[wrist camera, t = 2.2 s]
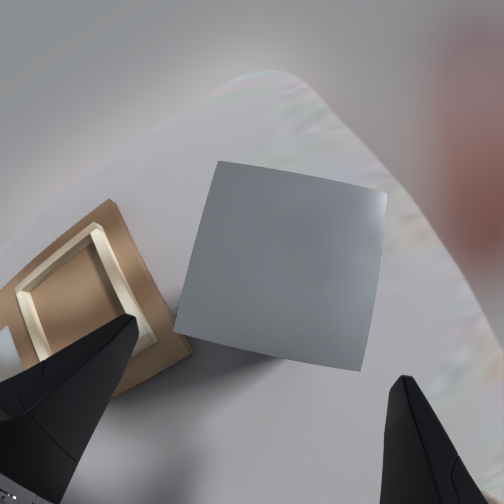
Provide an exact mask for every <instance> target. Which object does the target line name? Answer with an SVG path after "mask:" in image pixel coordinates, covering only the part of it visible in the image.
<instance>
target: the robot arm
mask: <svg viewBox="0 0 504 504" xmlns="http://www.w3.org/2000/svg"><path fill="white" fill-rule="evenodd" d="M138 337H139V329H138V324H137V319H136V317H135V316H134V315H131V314H128V313H124V314H121V315H120V316H118V317H116V318H115V319H113V320H111V321H109V322H108V323H106V324H104V325H102V326H101V327H99V328H97V329H96V330H94V331H92V332H90V333H89V334H87V335H85V336H84V337H82V338H80V339H78V340H77V341H75V342H73V343H72V344H70V345H68V346H66V347H65V348H63V349H61V350H60V351H58V352H56V353H54V354H53V355H51V356H49V357H48V358H46V359H45V360H42V361H41V362H39V363H37V364H36V365H34V366H32V367H30V368H28V369H27V370H25V371H23V372H21V373H19V374H16V375H14V376H12V377H10V378H8V379H6V380H3V381H1V382H0V504H34V500H35V498H36V496H37V495H38V496H40V497H41V498H43V499H45V500H47V501H49V502H51V503H53V504H60V502H61V500H62V498H63V495H64V493H65V491H66V489H67V487H68V484H69V482H70V480H71V478H72V476H73V474H74V472H75V469H76V467H77V465H78V463H79V461H80V459H81V457H82V454H83V452H84V450H85V448H86V446H87V444H88V442H89V440H90V438H91V436H92V434H93V432H94V430H95V428H96V426H97V424H98V422H99V420H100V418H101V416H102V414H103V412H104V411H105V409H106V407H107V405H108V403H109V401H110V399H111V397H112V395H113V393H114V391H115V389H116V388H117V386H118V384H119V382H120V380H121V378H122V376H123V374H124V372H125V370H126V367H127V365H128V362H129V360H130V357H131V355H132V352H133V350H134V347H135V345H136V342H137V340H138ZM380 504H489V503H488V502H487V500H486V499H485V497H484V496H483V494H482V493H481V491H480V490H479V488H478V487H477V485H476V484H475V482H474V481H473V479H472V477H471V476H470V474H469V473H468V471H467V469H466V467H465V465H464V464H463V462H462V460H461V458H460V456H459V455H458V453H457V451H456V449H455V447H454V446H453V444H452V442H451V440H450V438H449V437H448V435H447V433H446V431H445V430H444V428H443V426H442V424H441V423H440V421H439V419H438V418H437V416H436V414H435V412H434V411H433V409H432V407H431V406H430V404H429V402H428V401H427V399H426V397H425V396H424V394H423V392H422V391H421V389H420V388H419V386H418V384H417V383H416V381H415V379H414V378H413V377H412V376H407V375H401V376H400V377H399V378H398V379H397V381H396V382H395V383H394V385H393V386H392V388H391V389H390V392H389V399H388V408H387V416H386V424H385V432H384V453H383V470H382V484H381V495H380Z"/></svg>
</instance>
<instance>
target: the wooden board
mask: <svg viewBox="0 0 504 504" xmlns="http://www.w3.org/2000/svg"><path fill="white" fill-rule="evenodd" d="M124 313H128V314H131V315H134V316H135V317H136V319H137V324H138V329H139V337H138V340H137V342H136V345H135V347H134V350H133V352H132V355H131V357H130V360H129V362H128V365H127V367H126V370H125V372H124V374H123V376H122V378H121V380H120V382H119V384H118V386H117V388H116V389H115V391H114V393H113V395H112V397H111V399H112V398H114V397H116V396H118V395H120V394H121V393H123V392H125V391H127V390H129V389H131V388H132V387H134V386H136V385H138V384H140V383H141V382H143V381H145V380H147V379H149V378H150V377H152V376H154V375H156V374H157V373H159V372H161V371H163V370H164V369H166V368H168V367H170V366H171V365H173V364H175V363H177V362H178V361H180V360H182V359H183V358H185V357H187V356H189V355H190V354H192V353H194V351H193V349H192V347H191V346H190V344H189V342H188V341H187V339H186V337H185V336H184V335H183V334H180V333H176V332H173V329H174V325H175V318H174V317H173V315H172V313H171V311H170V310H169V308H168V306H167V304H166V302H165V301H164V299H163V297H162V295H161V293H160V291H159V290H158V288H157V286H156V284H155V282H154V280H153V278H152V276H151V275H150V273H149V271H148V269H147V267H146V265H145V263H144V261H143V259H142V257H141V255H140V253H139V251H138V249H137V247H136V245H135V243H134V241H133V239H132V237H131V235H130V233H129V230H128V228H127V226H126V224H125V222H124V220H123V218H122V216H121V213H120V211H119V209H118V207H117V205H116V204H115V203H114V202H113V201H112V200H111V199H108V200H106V201H105V202H104V203H102V204H101V205H100V206H98V207H97V208H96V209H94V210H93V211H92V212H90V213H89V214H88V215H86V216H85V217H84V218H83V219H81V220H80V221H79V222H77V223H76V224H75V225H74V226H72V227H71V228H70V229H69V230H67V231H66V232H65V233H64V234H63V235H61V236H60V237H59V238H58V239H56V240H55V241H54V242H53V243H52V244H51V245H49V246H48V247H47V248H46V249H45V250H44V251H42V252H41V253H40V254H39V255H38V256H37V257H35V258H34V259H33V260H32V261H31V262H30V263H29V264H28V265H27V266H25V267H24V268H23V269H22V270H21V271H20V272H19V273H18V274H17V275H16V276H15V277H14V278H13V279H11V280H10V281H9V282H8V283H7V284H6V285H5V286H4V287H3V288H2V289H1V290H0V382H1V381H3V380H6V379H8V378H10V377H12V376H14V375H16V374H19V373H21V372H23V371H25V370H27V369H28V368H30V367H32V366H34V365H36V364H37V363H39V362H41V361H42V360H45V359H46V358H48V357H49V356H51V355H53V354H54V353H56V352H58V351H60V350H61V349H63V348H65V347H66V346H68V345H70V344H72V343H73V342H75V341H77V340H78V339H80V338H82V337H84V336H85V335H87V334H89V333H90V332H92V331H94V330H96V329H97V328H99V327H101V326H102V325H104V324H106V323H108V322H109V321H111V320H113V319H115V318H116V317H118V316H120V315H121V314H124Z"/></svg>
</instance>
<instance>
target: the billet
mask: <svg viewBox="0 0 504 504" xmlns="http://www.w3.org/2000/svg"><path fill="white" fill-rule="evenodd" d="M386 200H387V193H386V192H382V191H378V190H374V189H369V188H365V187H361V186H356V185H352V184H347V183H343V182H338V181H333V180H329V179H324V178H319V177H314V176H309V175H303V174H298V173H293V172H287V171H281V170H276V169H270V168H264V167H258V166H251V165H245V164H238V163H231V162H224V161H218V163H217V166H216V170H215V173H214V176H213V180H212V183H211V186H210V190H209V193H208V197H207V200H206V204H205V207H204V211H203V214H202V218H201V222H200V225H199V229H198V233H197V236H196V240H195V244H194V247H193V251H192V255H191V259H190V263H189V267H188V271H187V275H186V279H185V283H184V287H183V291H182V295H181V299H180V303H179V308H178V312H177V316H176V320H175V325H174V329H173V332H176V333H180V334H183V335H187V336H191V337H194V338H198V339H202V340H206V341H210V342H213V343H217V344H221V345H225V346H230V347H234V348H238V349H242V350H247V351H251V352H255V353H260V354H265V355H269V356H274V357H279V358H284V359H289V360H294V361H299V362H304V363H310V364H316V365H321V366H327V367H333V368H339V369H346V370H353V371H359V372H360V371H361V367H362V362H363V358H364V353H365V349H366V344H367V339H368V334H369V329H370V324H371V318H372V313H373V307H374V301H375V295H376V289H377V282H378V275H379V268H380V260H381V252H382V244H383V234H384V224H385V213H386Z"/></svg>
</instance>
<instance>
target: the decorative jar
mask: <svg viewBox="0 0 504 504" xmlns="http://www.w3.org/2000/svg"><path fill="white" fill-rule="evenodd" d="M481 493H482V494H483V496H484V497H485V499H486V500H487V502H488V503H489V504H504V502H503V501H501V500H499V499H498V498H496V497H495V496H493V495H492V494H490V493H488V492H484V491H483V492H481Z"/></svg>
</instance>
